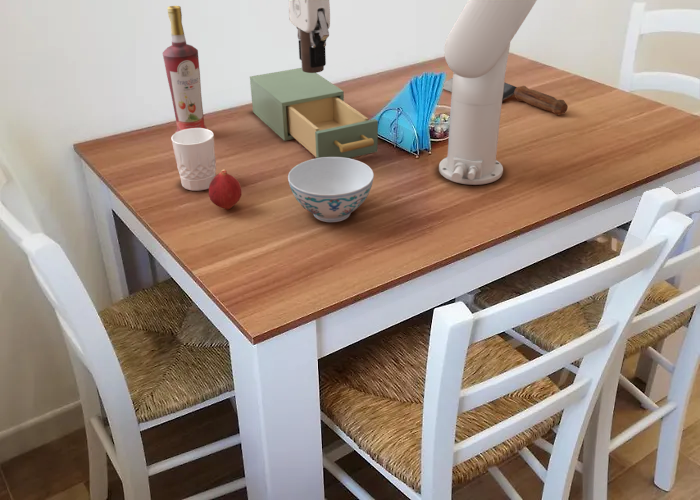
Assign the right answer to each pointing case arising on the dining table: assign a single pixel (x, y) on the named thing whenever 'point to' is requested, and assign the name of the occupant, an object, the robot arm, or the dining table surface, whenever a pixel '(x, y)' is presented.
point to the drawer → (332, 128)
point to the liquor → (183, 76)
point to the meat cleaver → (527, 97)
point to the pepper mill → (307, 52)
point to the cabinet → (287, 95)
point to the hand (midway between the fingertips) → (312, 61)
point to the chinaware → (331, 186)
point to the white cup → (195, 157)
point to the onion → (224, 190)
